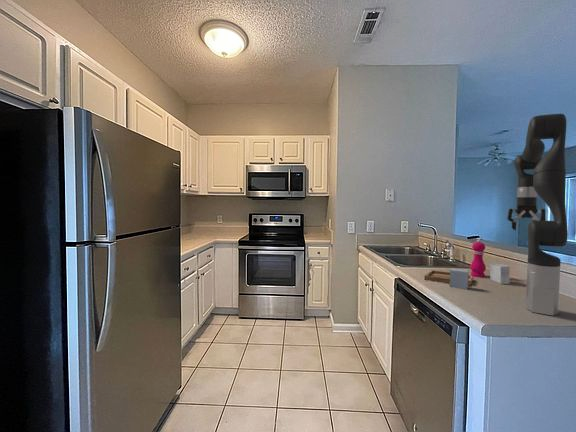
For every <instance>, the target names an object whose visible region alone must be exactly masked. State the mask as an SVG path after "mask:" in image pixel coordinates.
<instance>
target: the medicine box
mask: <svg viewBox="0 0 576 432" xmlns="http://www.w3.org/2000/svg"><path fill="white" fill-rule="evenodd" d="M510 269H511V268H510V266H509V265H505V264H501V263H490V278H489V279H490V281H493V282H495V283H497V284H499V285H500V284H501V285H509V284H510V272H511V271H510Z"/></svg>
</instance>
